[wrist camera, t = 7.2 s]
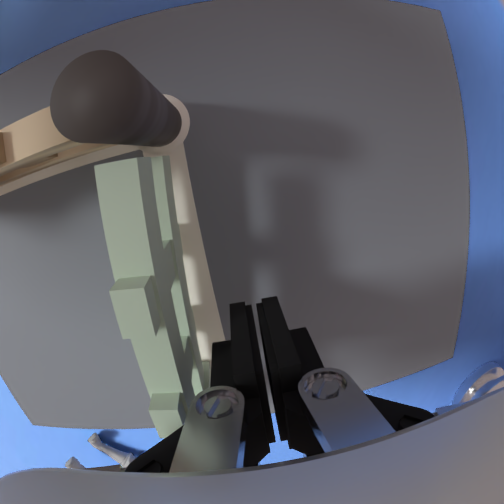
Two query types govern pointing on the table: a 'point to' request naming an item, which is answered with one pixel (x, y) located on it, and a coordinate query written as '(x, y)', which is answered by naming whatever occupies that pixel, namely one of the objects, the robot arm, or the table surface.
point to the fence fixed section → (89, 116)
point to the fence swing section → (152, 284)
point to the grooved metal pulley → (480, 383)
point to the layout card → (251, 198)
